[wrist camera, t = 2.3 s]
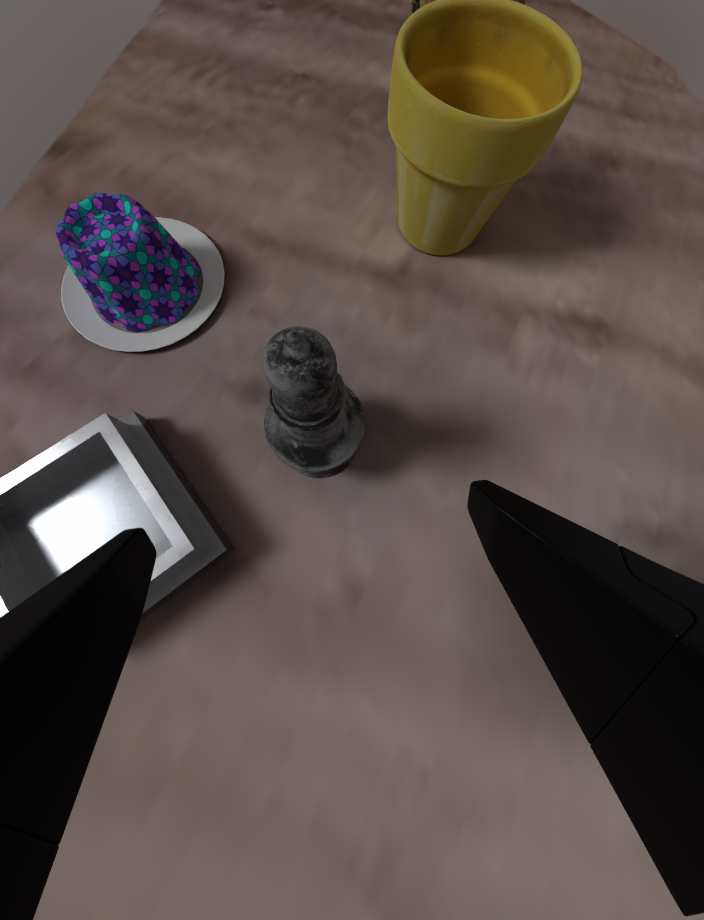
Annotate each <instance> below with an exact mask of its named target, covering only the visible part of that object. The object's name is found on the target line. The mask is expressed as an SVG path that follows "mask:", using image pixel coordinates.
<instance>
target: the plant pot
mask: <svg viewBox="0 0 704 920" xmlns="http://www.w3.org/2000/svg"><path fill="white" fill-rule="evenodd" d="M581 81H582V62H581V58H580V55H579V53H578V50H577V48H576V47H575V45H574V43H573V41H572V40H571V38H570V37H569V36H568V34H567V33H566V32H565V31H564V30H563V29H562V28H561V27H560V26H559V25H558V24H556V23H555V22H554V21H553V20H551V19H550V18H549V17H547V16H545V15H544V14H542V13H541V12H539V11H537V10H535V9H533V8H531V7H529V6H526V5H524V4H521V3H519V2H515V1H512V0H436V1H433V2H431V3H428V4H426V5H424V6H422V7H421V8H419V9H418V10H417V11H415V12H414V13H413V14H412V15H411V16H410V17H409V18H408V19H407V20H406V21H405V22H404V24H403V26H402V27H401V29H400V31H399V33H398V36H397V39H396V43H395V48H394V55H393V63H392V71H391V80H390V91H389V102H388V127H389V131H390V134H391V137H392V140H393V142H394V144H395V145H396V171H397V220H398V226H399V229H400V231H401V233H402V235H403V237H404V238H405V239H406V241H407V242H408V243H409V244H411V245H412V246H413V247H415V248H416V249H418V250H420V251H422V252H424V253H428V254H431V255H450V254H454V253H457V252H460V251H462V250H463V249H465V248H466V247H468V246H469V245H470V244H471V243H472V241H473V240H474V239H475V237H476V236H477V234H478V233H479V231H480V230H481V229H482V227H483V226H484V224H485V223H486V222H487V220H488V219H489V217H490V216H491V215H492V213H493V212H494V211H495V209H496V208H497V206H498V205H499V204H500V202H501V201H502V199H503V198H504V197H505V195H506V194H507V193H508V191H509V190H510V188H511V187H512V186H513V184H514V183H515V182H516V181H517V180H518V179H520V178H522V177H524V176H525V175H526V174H528V173H529V172H530V171H531V170H532V169H533V168H534V167H535V166H536V165H537V164H538V163H539V161H540V160H541V158H542V157H543V155H544V154H545V152H546V150H547V149H548V147H549V145H550V144H551V142H552V140H553V138H554V137H555V135H556V133H557V131H558V130H559V128H560V126H561V124H562V122H563V121H564V119H565V117H566V115H567V113H568V111H569V110H570V108H571V106H572V104H573V102H574V100H575V98H576V96H577V94H578V91H579V88H580V85H581Z"/></svg>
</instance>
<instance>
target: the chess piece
mask: <svg viewBox="0 0 704 920" xmlns="http://www.w3.org/2000/svg"><path fill="white" fill-rule="evenodd" d="M263 367H264V372H265V375H266V377H267V380H268V382H269V384H270V391H269V397H270V404H269V406H268V408H267V410H266V415H265V420H264V428H265V436H266V439H267V441H268V444H269V446H270V448H271V449H272V451H273V452H274V453H275V455H276V456H277V457H278V458H279V459H280V460H282V461H283V462H284V463H286V464H287V465H288V466H291V467H292V468H294V469H295V470H296V471H297V472H299V473H301V474H303V475H306V476H308V477H315V478H323V477H330V476H332V475H334V474H337V473H339V472H340V471H342V470H343V469H344V468H346V467H347V466H348V465H349V463H350V462H351V461H352V459H353V458H354V455H355V453H356V450H357V449H358V448H359V446H360V444H361V441H362V439H363V436H364V431H365V423H366V422H365V415H364V410H363V407H362V405H361V403H360V401H359V399H358V398H357V396H356V395H355V394H354V393H353V392H352V390H351V389H349V388H348V387H347V386H345V384H344V382H343V380H342V377H341V376H340V374H339V373H338V372H337V362H336V355H335V353H334V350H333V348H332V346H331V344H330V342H329V341H328V340H327V339H326V338H325V336H323V335H322V334H321V333H319V332H318V331H316V330H313V329H311V328H307V327H300V326H297V327H289V328H286V329H283V330H282V331H280V332H278V333H277V334H275V335H274V336H273V337H272V338H271V339H270V340H269V342H268V343H267V345H266V347H265V349H264V354H263Z"/></svg>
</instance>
